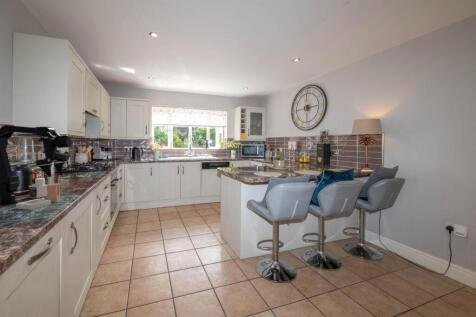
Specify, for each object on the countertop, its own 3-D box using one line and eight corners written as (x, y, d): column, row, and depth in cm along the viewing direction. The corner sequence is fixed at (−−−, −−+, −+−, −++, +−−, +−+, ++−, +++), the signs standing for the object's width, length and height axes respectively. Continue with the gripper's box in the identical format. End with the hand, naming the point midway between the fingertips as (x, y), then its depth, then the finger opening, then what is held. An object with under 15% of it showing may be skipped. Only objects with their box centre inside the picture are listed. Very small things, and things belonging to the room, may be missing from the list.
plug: (47, 202, 131) (46, 185, 130) (51, 200, 135) (50, 183, 134) (57, 201, 132) (56, 184, 131) (60, 199, 136) (59, 183, 135)
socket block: (16, 208, 118) (16, 203, 118) (37, 203, 128) (36, 198, 128) (31, 209, 116) (30, 205, 116) (51, 204, 126) (50, 200, 126)
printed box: (28, 197, 141) (27, 178, 140) (41, 194, 148) (40, 176, 147) (36, 198, 139) (35, 179, 138) (49, 195, 146) (48, 177, 145)
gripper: (55, 147, 120) (60, 176, 121) (75, 146, 138) (79, 171, 140) (32, 150, 118) (37, 179, 120) (55, 148, 137) (59, 174, 138)
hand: (55, 175), depth 129 cm, fingers open, 9 cm apart
